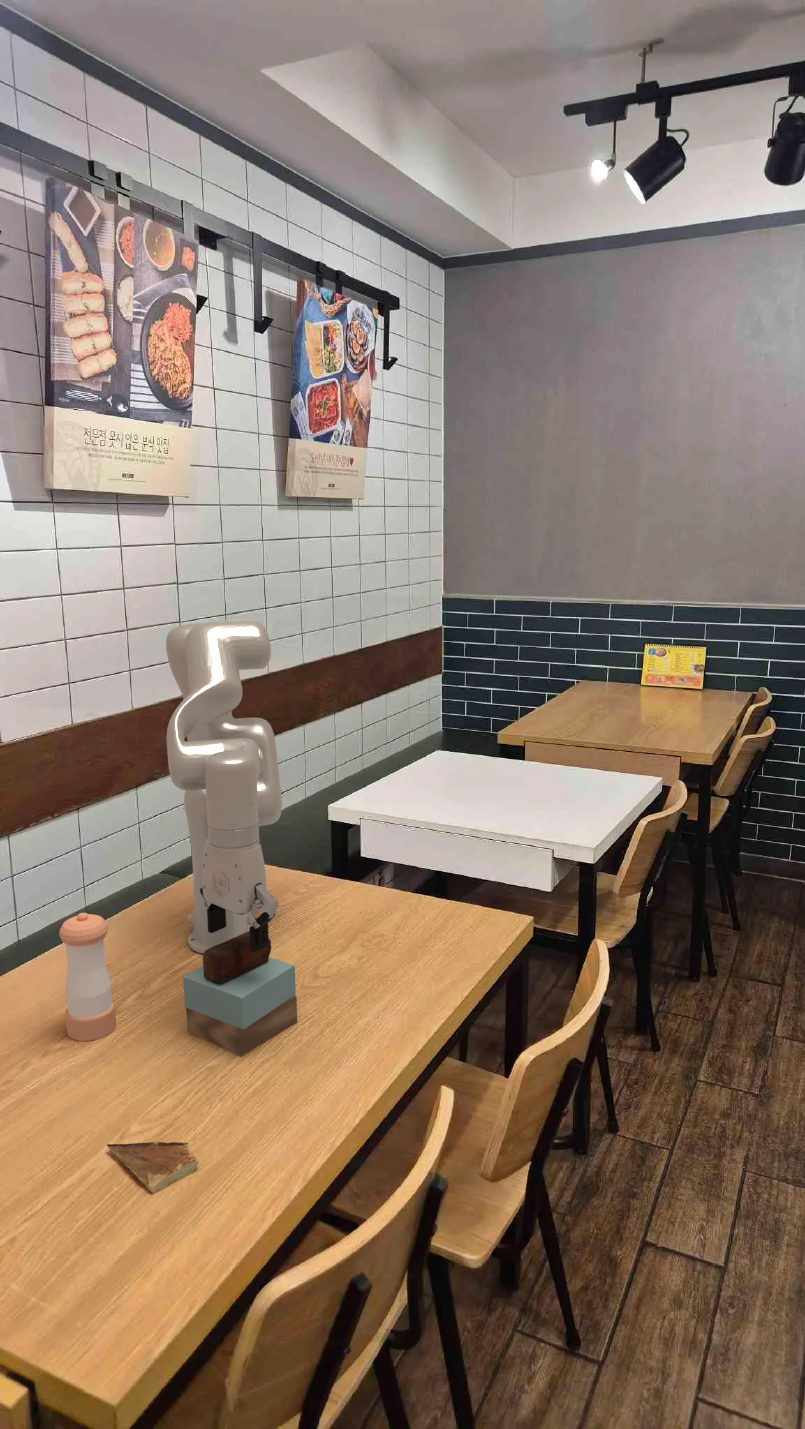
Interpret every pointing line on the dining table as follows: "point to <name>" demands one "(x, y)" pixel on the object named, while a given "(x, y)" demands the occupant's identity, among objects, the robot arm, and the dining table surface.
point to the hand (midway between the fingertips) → (238, 938)
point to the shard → (156, 1161)
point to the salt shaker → (87, 979)
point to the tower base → (243, 1038)
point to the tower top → (241, 993)
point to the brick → (232, 959)
